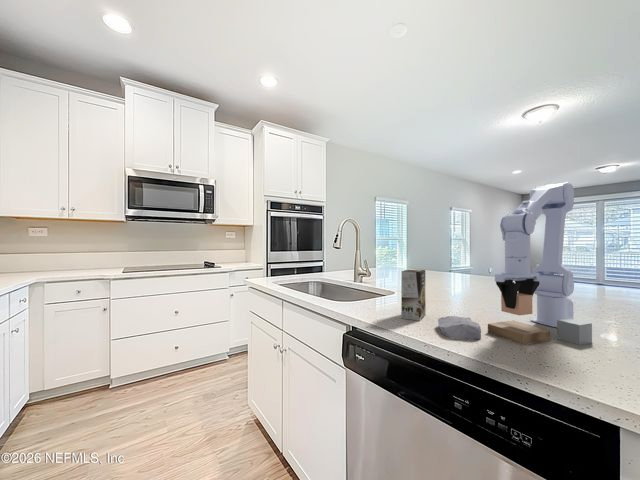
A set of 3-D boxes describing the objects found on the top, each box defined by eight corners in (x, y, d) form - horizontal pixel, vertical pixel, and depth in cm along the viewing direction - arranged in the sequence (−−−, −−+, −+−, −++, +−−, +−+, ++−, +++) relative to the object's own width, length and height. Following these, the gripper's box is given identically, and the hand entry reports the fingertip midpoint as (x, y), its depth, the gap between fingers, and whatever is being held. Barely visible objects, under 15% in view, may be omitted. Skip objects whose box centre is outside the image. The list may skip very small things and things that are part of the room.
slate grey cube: (569, 336, 76) (569, 318, 76) (592, 342, 72) (591, 323, 72) (557, 338, 75) (556, 319, 75) (579, 345, 70) (579, 325, 70)
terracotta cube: (514, 309, 80) (513, 292, 80) (532, 313, 75) (532, 295, 75) (501, 311, 78) (501, 293, 78) (519, 315, 73) (519, 296, 73)
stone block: (446, 345, 75) (485, 340, 73) (442, 327, 75) (481, 321, 74) (436, 332, 87) (470, 328, 85) (432, 317, 87) (466, 312, 85)
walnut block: (513, 330, 82) (513, 320, 82) (550, 342, 73) (550, 330, 73) (487, 334, 79) (487, 323, 79) (523, 346, 70) (523, 334, 70)
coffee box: (420, 321, 91) (420, 271, 91) (400, 318, 94) (400, 270, 94) (426, 315, 98) (426, 269, 98) (407, 312, 102) (407, 268, 102)
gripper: (521, 256, 82) (521, 302, 82) (484, 257, 78) (484, 305, 78) (547, 257, 76) (547, 307, 76) (509, 258, 71) (509, 311, 71)
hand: (517, 307), depth 76 cm, fingers closed on terracotta cube, 5 cm apart
